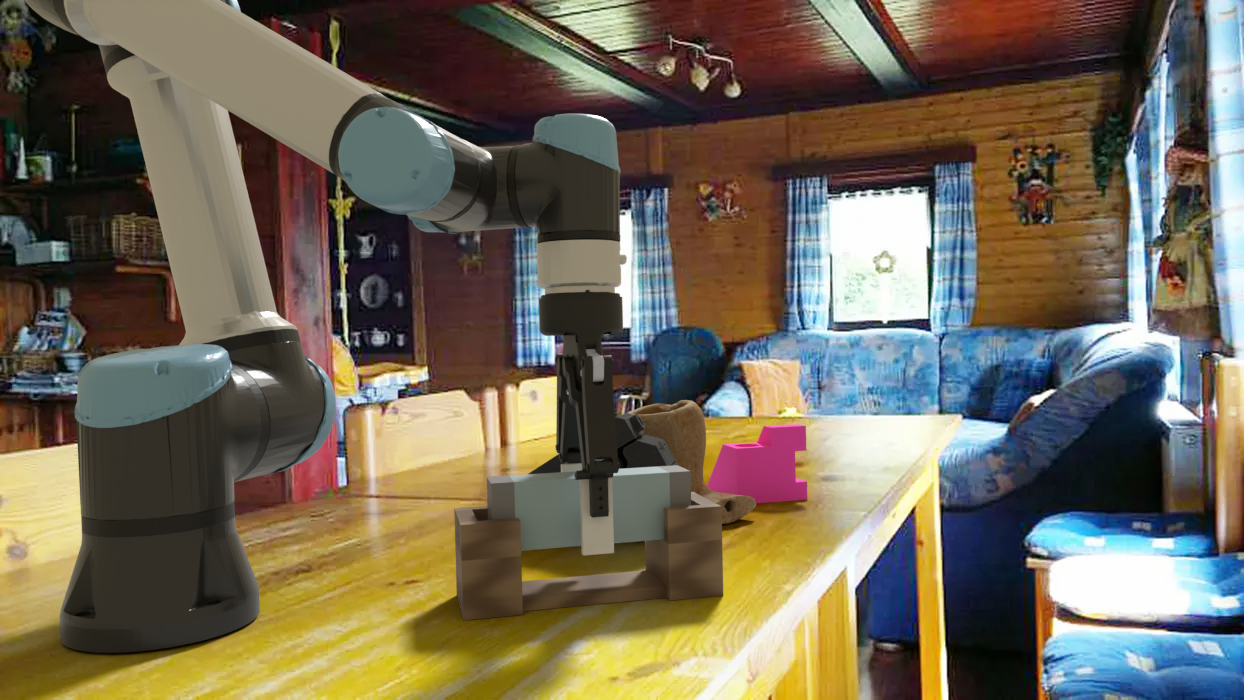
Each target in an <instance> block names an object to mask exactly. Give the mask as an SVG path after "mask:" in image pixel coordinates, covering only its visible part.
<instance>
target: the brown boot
mask: <svg viewBox="0 0 1244 700" xmlns="http://www.w3.org/2000/svg"><path fill="white" fill-rule="evenodd" d="M627 413H629V414H633V415H635V414H638V415H639V417H640V418H641V419H642V421H643V423H644V425H645V429H643V431H644V433H642V434H641V436H642V437H643V436H645V435H648V436H652V437H656V438H659V439H663V440H664V441H665V443H666V444H667V446H668V448H669V450H670V452H671V454H672V455H673V457H674V459H675V461H676V463H677V465H678V466H680V467H682V468H685V469H687V470H689V471H691V492H695V493H697V494H698V495H700V496H702V497H704V498H706V499H708V500H710V501H712V502H714V503H716V504H718V505H720V506H721V512H722V525H725V524H726V525H727V524H730V523H733V522H736V521H738V520H740V519H742V518H744V517H745V516H747V515H748V514H750V512H752V511H753V510H754V509H755V508H756V506H757V503H756V502H755V499H754V498H752V497H749V496H744V495H734V494H727V493H720V492H716V491H713V490H711V489H709V488H708V487H707V484H706V483H705V481H704V480H705V479H704V465H705V463H704V462H705V456H706V448H707V433H706V432H707V430H706V429H707V428H706V420H705V416H704V412H703V411H702V409H701V407H699V405H698V404H697V403H696V401H695V402H694V400H691V399H690V400H688V399H684V400H683V399H681V400H679V401H677V402H676V403H673V404H667V403H653V404H649V405H645V406H641V407H638V408H636V409H634V410H629V411H628V412H627Z"/></svg>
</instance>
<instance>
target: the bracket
mask: <svg viewBox="0 0 1244 700" xmlns="http://www.w3.org/2000/svg"><path fill="white" fill-rule="evenodd" d="M805 451H807V426H806V425H803V424H799V423H795V424H794V423H793V424H776V425H763V427H762V429H761V432H760V434H759V437H758V439H757V441H756V442H741V443H728V444H727V443H726V444H724V443H723V444H722V446H721V448H720V450H719V452H718V453H719V454H718V456H717V459H716V462H715V464H714V467H713V469H712V472H711V474H710V477H709V480H708V483H707V484H706V486H707V487H708V488H709V489H711V490H713V491H716V492H720V493H727V494H734V495H744V496H749V497H752V498H754V499H755V502H756V504H763V503H764V504H765V503H776V502H789V501H801V500H802V501H803V500H804V501H805V500H808V481H806V480H804V479H800V478H798V477H796V452H805Z"/></svg>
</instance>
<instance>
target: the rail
mask: <svg viewBox="0 0 1244 700" xmlns="http://www.w3.org/2000/svg"><path fill="white" fill-rule="evenodd" d="M575 473H576V471H575V472H558V473H542V474H529V473H527V474H525V473H524V474H513V475H512V474H510V475H497V476H496V475H495V476H486V501H487V502H486V506H487V509H488V520H498V519H512V518H519V520H520V524H521V552H523V551H533V550H547V549H559V548H560V549H561V548H571V547H573V548H574V547H581V516H580V480H575V476H574V475H575ZM612 490H613V529H614V544H621V543H635V542H645V541H648V540H661V539H664V508H665V507H679V506H691V471H689V470H687V469H685V468H682V467H680V466H678V465H674V466H657V467H641V468H624V469H619V471H618V473H613V477H612Z"/></svg>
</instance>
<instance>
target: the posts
mask: <svg viewBox="0 0 1244 700" xmlns="http://www.w3.org/2000/svg"><path fill="white" fill-rule="evenodd" d="M453 511H454V539H455V541H454V542H455V543H454V544H455V546H454V547H455V551H454V552H455V579H456V581H455V583H456V584H455V585H456V598H457V601H458V606H459V608H460V613H461V617H462V620H463V621H471V620H481V619H493V618H501V617H513V616H523V614H524V612H527V611H528V612H529V611H539V610H540V611H541V610H549V609H550V610H551V609H559V608H561V609H562V608H569V607H570V608H571V607H579V606H580V607H581V606H590V605H591V606H592V605H600V604H601V605H603V604H610V603H611V604H613V603H622V602H623V603H625V602H631V601H632V602H634V601H643V600H655V599H665V598H666V599H667V600H669V601H679V600H689V599H699V598H708V597H709V598H710V597H718V596H719V597H720V596H724V570H723V569H724V563H723V560H724V559H723V524H722V512H721V506H720V505H718V504H716V503H714V502H712V501H710V500H708V499H706V498H704V497H702V496H700V495H698V494H697V493H695V492H691V506H679V507H665V508H664V539H661V540H648V541H644V549H645V551H644V558H645V561H644V562H645V570H635V571H623V572H611V573H601V574H589V575H578V576H577V575H576V576H567V577H565V576H564V577H555V578H544V579H533V580H523V572H522V571H523V569H522V551H521V524H520V520H519V518H512V519H498V520H488V509H487V505H483V506H468V507H467V506H466V507H454V509H453Z"/></svg>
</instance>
